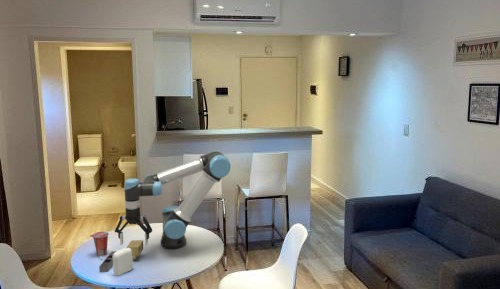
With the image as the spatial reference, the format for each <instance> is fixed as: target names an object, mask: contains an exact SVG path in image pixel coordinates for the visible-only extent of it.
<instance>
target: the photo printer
mask: <svg viewBox="0 0 500 289" xmlns="http://www.w3.org/2000/svg"><path fill="white" fill-rule="evenodd" d="M112 258H113V265H112V267H113V275H114V276H115V277H118V276H121V275H123V274H126V273H127V272H130V271H132V270H133V269H134V263H133V262H134V261H133V256H132V251H131V249H130V248H127V247H124V248H121V249H119V250H117V252H115V253H114V254H113V255H112Z"/></svg>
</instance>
